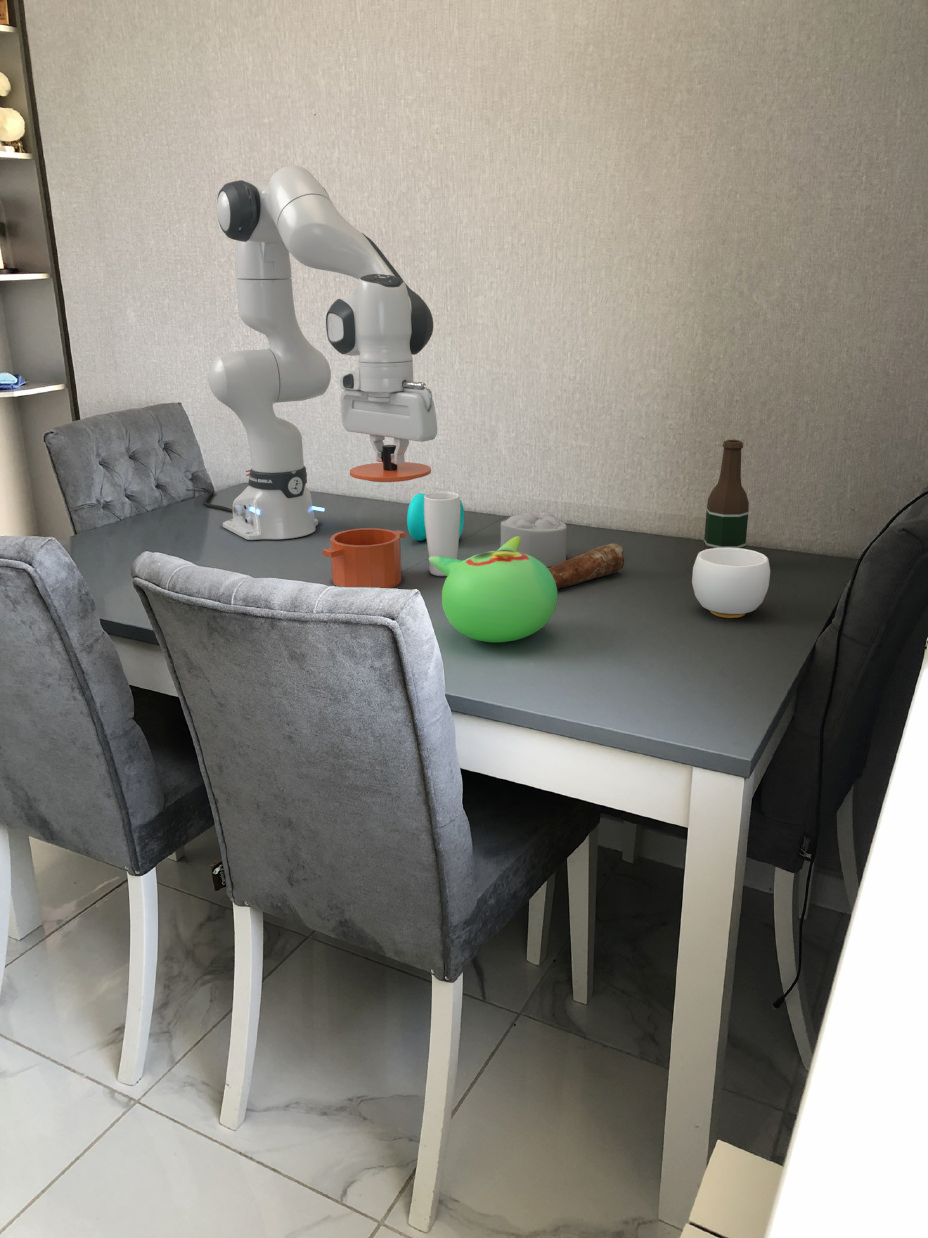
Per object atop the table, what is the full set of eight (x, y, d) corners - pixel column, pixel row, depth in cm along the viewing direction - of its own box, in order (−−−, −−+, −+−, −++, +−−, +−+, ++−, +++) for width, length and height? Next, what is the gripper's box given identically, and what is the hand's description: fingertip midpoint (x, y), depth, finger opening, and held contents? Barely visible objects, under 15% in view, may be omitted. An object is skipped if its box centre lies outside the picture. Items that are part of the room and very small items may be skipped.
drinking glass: (457, 579, 180) (456, 500, 175) (421, 577, 181) (419, 499, 176) (464, 568, 186) (463, 492, 181) (430, 567, 187) (428, 490, 182)
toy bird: (467, 665, 141) (466, 569, 136) (425, 628, 156) (422, 540, 151) (574, 645, 148) (577, 553, 143) (524, 612, 163) (525, 527, 157)
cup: (753, 630, 153) (759, 572, 150) (679, 617, 159) (683, 560, 156) (775, 607, 163) (780, 552, 160) (704, 596, 169) (708, 542, 166)
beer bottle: (746, 562, 188) (758, 438, 179) (739, 573, 181) (751, 445, 173) (706, 558, 191) (716, 436, 182) (698, 569, 184) (707, 443, 176)
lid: (333, 477, 164) (331, 447, 162) (393, 465, 173) (392, 436, 172) (387, 488, 155) (386, 456, 153) (448, 475, 164) (447, 444, 163)
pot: (307, 585, 177) (304, 540, 175) (381, 564, 190) (379, 522, 187) (352, 600, 169) (349, 553, 166) (425, 577, 181) (424, 533, 178)
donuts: (450, 549, 199) (450, 501, 195) (405, 545, 202) (404, 498, 199) (466, 536, 208) (465, 491, 204) (422, 533, 211) (421, 488, 207)
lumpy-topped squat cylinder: (525, 547, 200) (525, 506, 197) (577, 558, 192) (579, 515, 189) (493, 558, 192) (493, 516, 189) (547, 570, 184) (548, 526, 181)
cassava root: (627, 574, 181) (628, 546, 179) (552, 596, 170) (553, 565, 168) (602, 567, 186) (603, 539, 184) (528, 587, 175) (528, 557, 173)
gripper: (444, 381, 154) (446, 467, 159) (361, 374, 168) (365, 453, 172) (416, 384, 150) (419, 473, 155) (332, 377, 163) (337, 459, 168)
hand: (390, 463), depth 164 cm, fingers closed on lid, 2 cm apart
